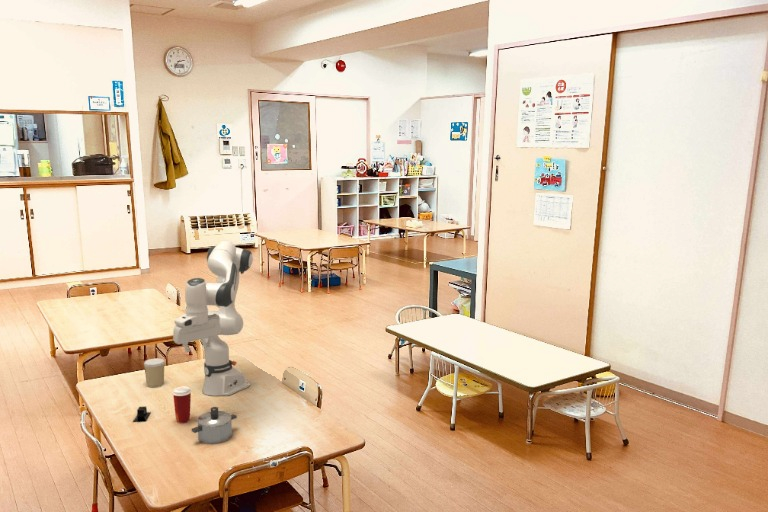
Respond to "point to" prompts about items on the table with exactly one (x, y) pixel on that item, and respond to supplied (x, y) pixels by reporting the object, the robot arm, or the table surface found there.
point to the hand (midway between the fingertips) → (198, 349)
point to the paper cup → (182, 403)
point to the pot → (214, 432)
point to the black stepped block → (142, 415)
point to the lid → (214, 418)
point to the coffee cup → (154, 372)
